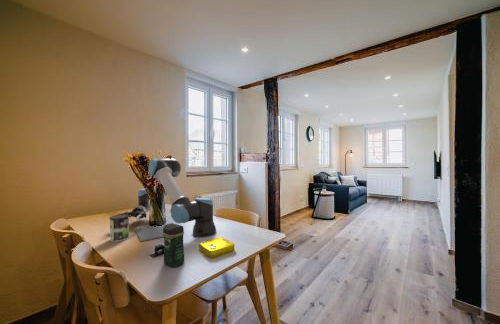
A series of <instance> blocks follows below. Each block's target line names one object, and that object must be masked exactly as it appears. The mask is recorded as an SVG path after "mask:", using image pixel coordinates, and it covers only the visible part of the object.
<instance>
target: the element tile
mask: <svg viewBox="0 0 500 324" xmlns="http://www.w3.org/2000/svg"><path fill="white" fill-rule="evenodd" d="M198 251H199V252H200V253H201V254H202V255H204V256H205V257H207V258H208V259H211V260H212V259H213V260H214V259H217V258H219V257H223V256H226V255H228V254H231V253H234V252H235V243H234V242H232V241H230V240H228V239H227V238H225V237H223V236H218V237H215V238H211V239H207V240H203V241H200V242H199V243H198Z"/></svg>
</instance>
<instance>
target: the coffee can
mask: <svg viewBox="0 0 500 324" xmlns="http://www.w3.org/2000/svg"><path fill="white" fill-rule="evenodd" d="M121 214H122V213H121ZM129 218H130V217H129V215H126V214H122V215H118V214H115V215H112V216H110V217H109V233H110V234H109V235H110V237H109V238H110V239H109V240H110V242H113V243H114V242H115V243H116V242H123V241H125V240H128V239H129V238H130V230H129V229H130V227H129V225H130V224H129V223H130V222H129Z"/></svg>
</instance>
